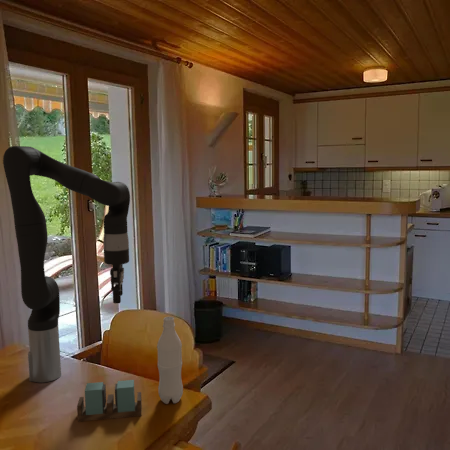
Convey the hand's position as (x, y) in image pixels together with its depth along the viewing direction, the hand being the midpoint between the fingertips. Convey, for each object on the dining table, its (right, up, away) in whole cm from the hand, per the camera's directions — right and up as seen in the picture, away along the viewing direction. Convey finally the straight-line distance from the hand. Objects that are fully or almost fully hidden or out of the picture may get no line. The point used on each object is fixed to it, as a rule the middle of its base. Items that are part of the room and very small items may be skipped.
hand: (118, 299), depth 147 cm
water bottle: (+17, -29, -7) cm, 34 cm away
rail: (+1, -30, -14) cm, 33 cm away
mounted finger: (-3, -29, -15) cm, 32 cm away
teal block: (+5, -28, -14) cm, 32 cm away
